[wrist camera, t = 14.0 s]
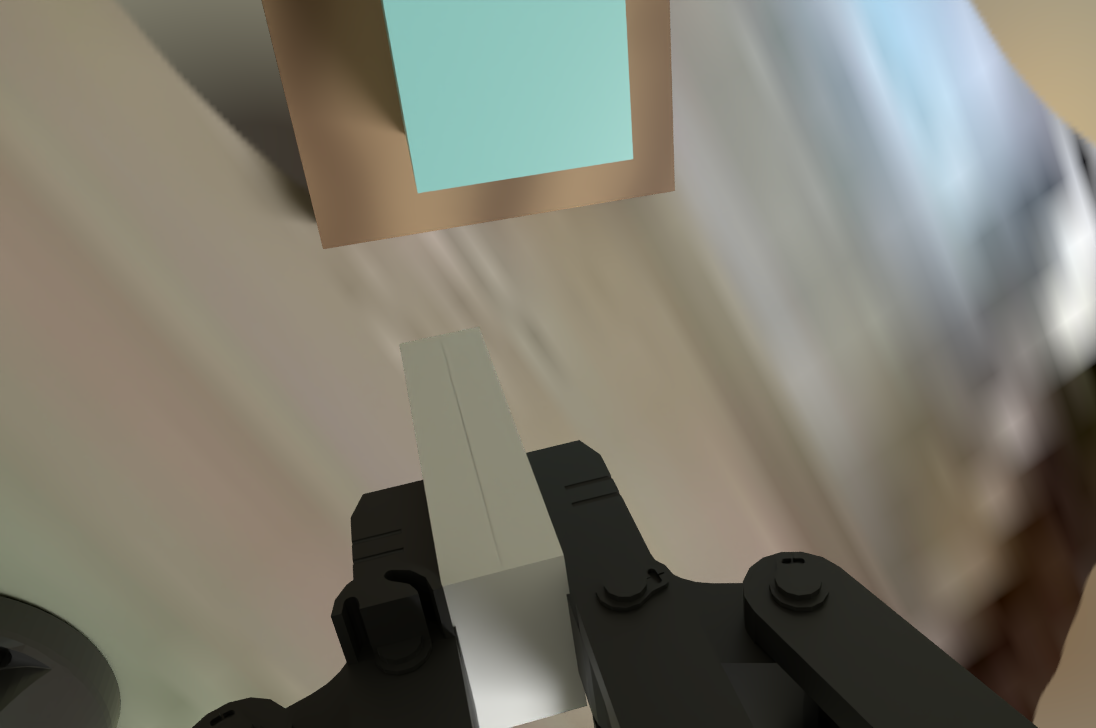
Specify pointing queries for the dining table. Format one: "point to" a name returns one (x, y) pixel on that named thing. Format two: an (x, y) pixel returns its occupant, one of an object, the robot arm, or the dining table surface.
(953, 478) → the dining table surface
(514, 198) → the stand
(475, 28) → the mint green cube
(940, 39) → the dining table surface
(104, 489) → the dining table surface
